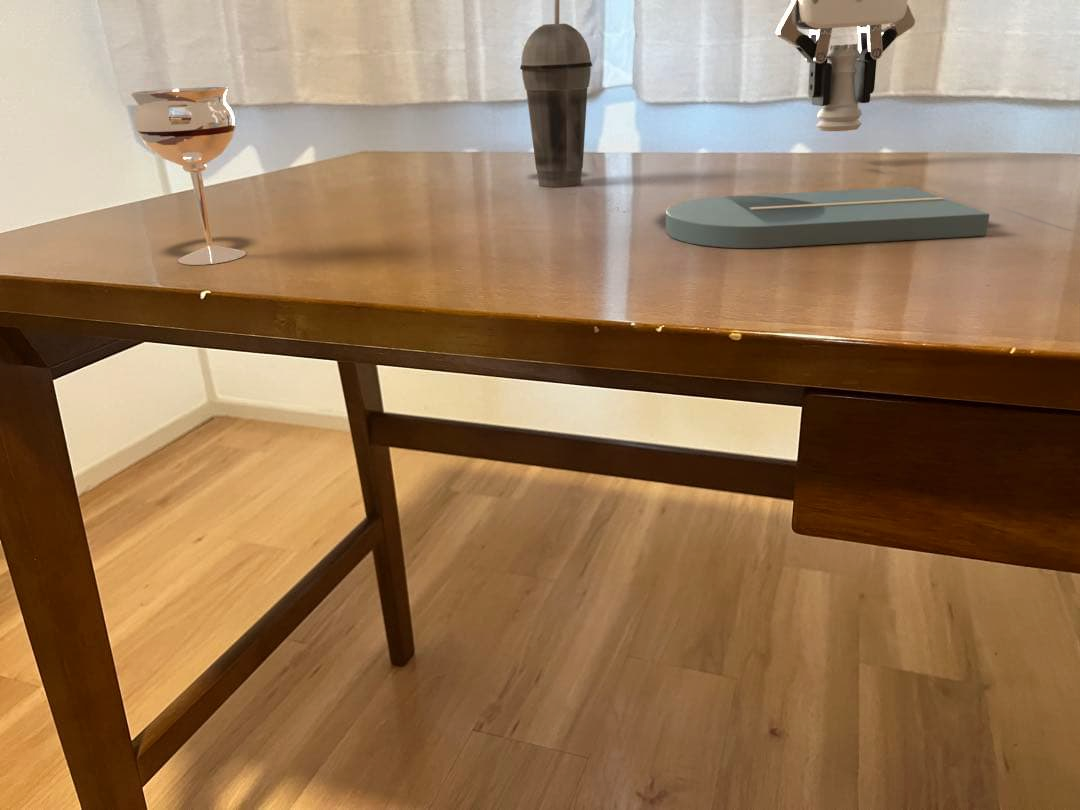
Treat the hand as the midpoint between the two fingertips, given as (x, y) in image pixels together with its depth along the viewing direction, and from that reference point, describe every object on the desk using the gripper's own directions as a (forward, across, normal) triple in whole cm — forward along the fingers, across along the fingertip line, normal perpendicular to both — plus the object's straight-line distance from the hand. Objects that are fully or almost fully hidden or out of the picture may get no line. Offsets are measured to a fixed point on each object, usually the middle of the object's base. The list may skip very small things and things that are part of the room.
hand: (840, 101), depth 87 cm
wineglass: (+6, -58, -24) cm, 63 cm away
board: (+7, -11, -24) cm, 28 cm away
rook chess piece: (+3, 0, 0) cm, 3 cm away
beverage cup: (+7, -29, +2) cm, 30 cm away
